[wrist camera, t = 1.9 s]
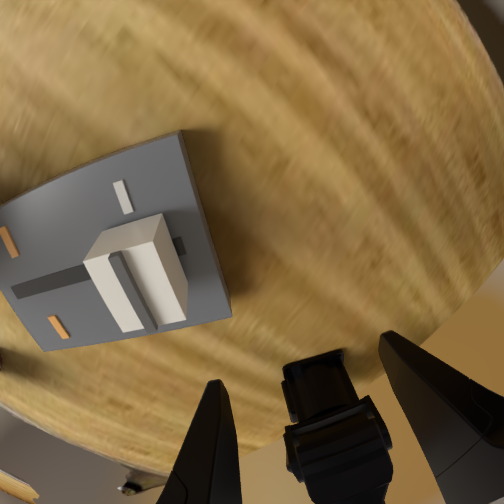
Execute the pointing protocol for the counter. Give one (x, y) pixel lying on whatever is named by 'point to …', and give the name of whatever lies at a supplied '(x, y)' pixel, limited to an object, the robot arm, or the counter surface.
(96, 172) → the fader console
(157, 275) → the fader tab
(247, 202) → the counter surface
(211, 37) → the counter surface
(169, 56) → the counter surface
